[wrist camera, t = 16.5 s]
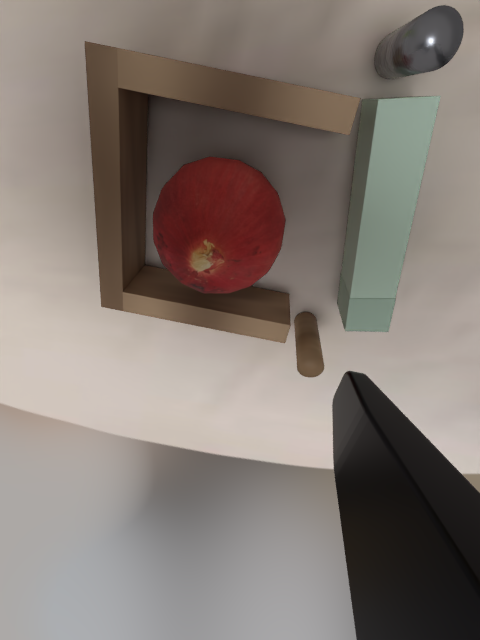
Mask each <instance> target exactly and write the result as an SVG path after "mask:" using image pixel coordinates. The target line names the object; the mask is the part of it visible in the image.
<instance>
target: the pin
mask: <svg viewBox="0 0 480 640" xmlns="http://www.w3.org/2000/svg"><path fill="white" fill-rule="evenodd" d="M462 37H463V21H462V18H461V16H460V14H459V13H458V11H457V10H455V9H454V8H452V7H450V6H445V5H443V6H437V7H434V8H432V9H430V10H428V11H427V12H425V13H423V14H422V15H420V16H418V17H417V18H415V19H413V20H412V21H410V22H409V23H407V24H405V25H404V26H402V27H400V28H399V29H397V30H395V31H394V32H392V33H390V34H389V35H387V36H386V37H385V38H384V39H383V40H382V41H381V43H380V44H379V46H378V48H377V50H376V54H375V67H376V70H377V72H378V73H379V75H380V76H382V77H384V78H386V79H394V78H399V77H404V76H409V75H414V74H419V73H425V72H430V71H434V70H437V69H439V68H441V67H443V66H444V65H445V64H447V63H448V62H449V61H450V60H451V59H452V58H453V56H454V55H455V54H456V52H457V50H458V48H459V46H460V44H461V41H462Z"/></svg>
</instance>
